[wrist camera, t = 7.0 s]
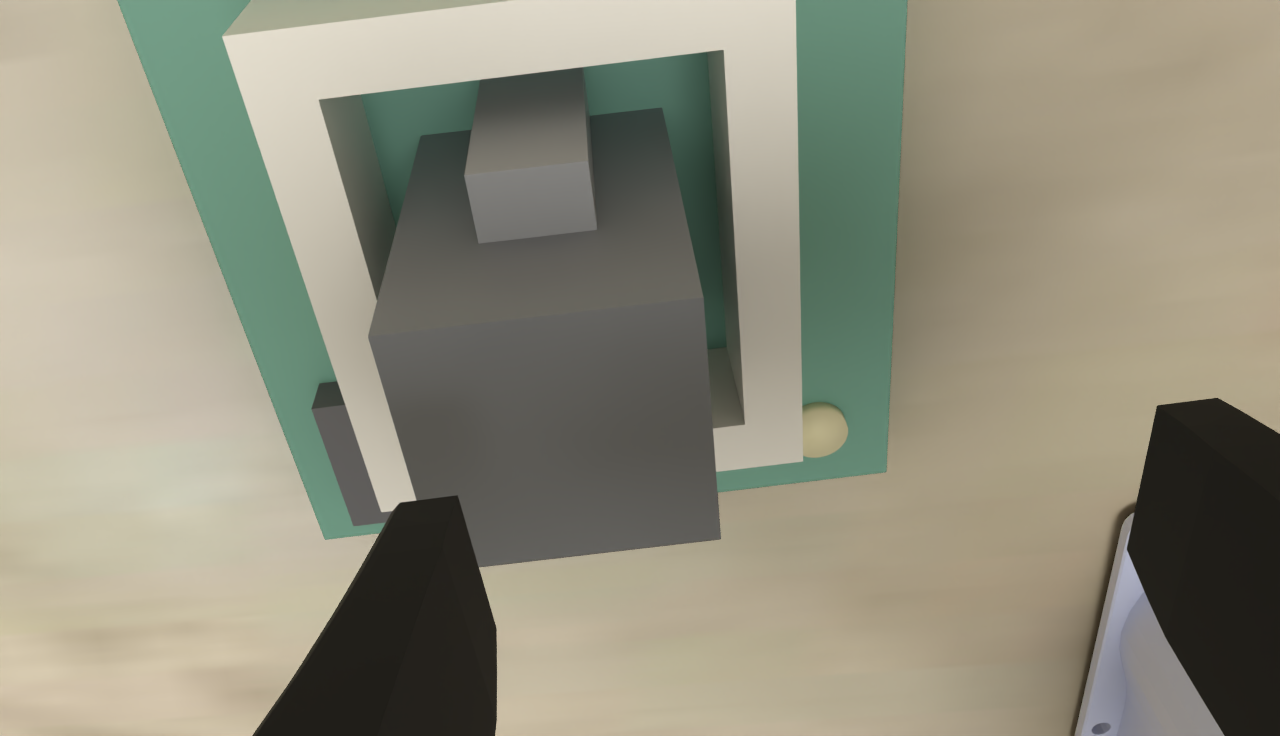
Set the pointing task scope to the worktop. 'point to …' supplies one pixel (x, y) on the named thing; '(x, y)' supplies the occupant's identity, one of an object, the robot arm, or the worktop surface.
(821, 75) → the board
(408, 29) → the frame
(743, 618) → the worktop surface
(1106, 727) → the robot arm
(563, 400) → the plug
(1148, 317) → the worktop surface
